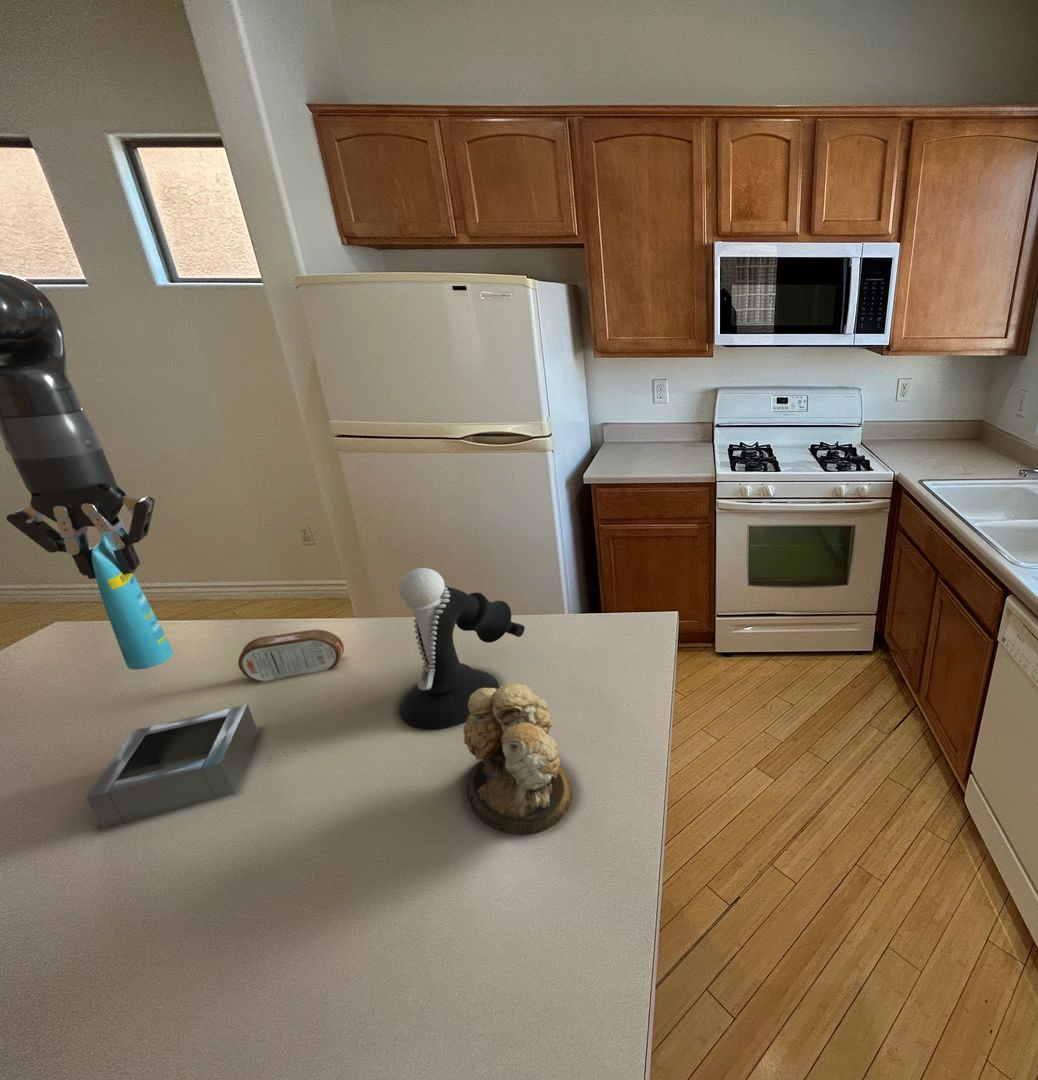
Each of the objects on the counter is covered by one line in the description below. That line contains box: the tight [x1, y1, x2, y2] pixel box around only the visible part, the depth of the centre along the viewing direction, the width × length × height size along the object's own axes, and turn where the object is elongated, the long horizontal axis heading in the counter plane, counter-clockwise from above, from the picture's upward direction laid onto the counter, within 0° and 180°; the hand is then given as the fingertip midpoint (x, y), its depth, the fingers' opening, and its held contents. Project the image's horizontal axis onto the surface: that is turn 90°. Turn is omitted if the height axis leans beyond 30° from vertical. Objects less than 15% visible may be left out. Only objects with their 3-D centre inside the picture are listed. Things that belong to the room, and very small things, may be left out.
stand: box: [85, 704, 259, 830], centre depth 76 cm, size 13×13×6 cm
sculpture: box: [398, 567, 526, 731], centre depth 92 cm, size 15×24×25 cm, turn 151°
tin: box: [237, 629, 345, 683], centre depth 97 cm, size 15×3×8 cm, turn 111°
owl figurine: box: [463, 683, 574, 835], centre depth 73 cm, size 18×12×17 cm, turn 56°
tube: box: [92, 534, 174, 671], centre depth 77 cm, size 7×5×19 cm, turn 42°
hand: (113, 573), depth 75 cm, fingers closed on tube, 3 cm apart
